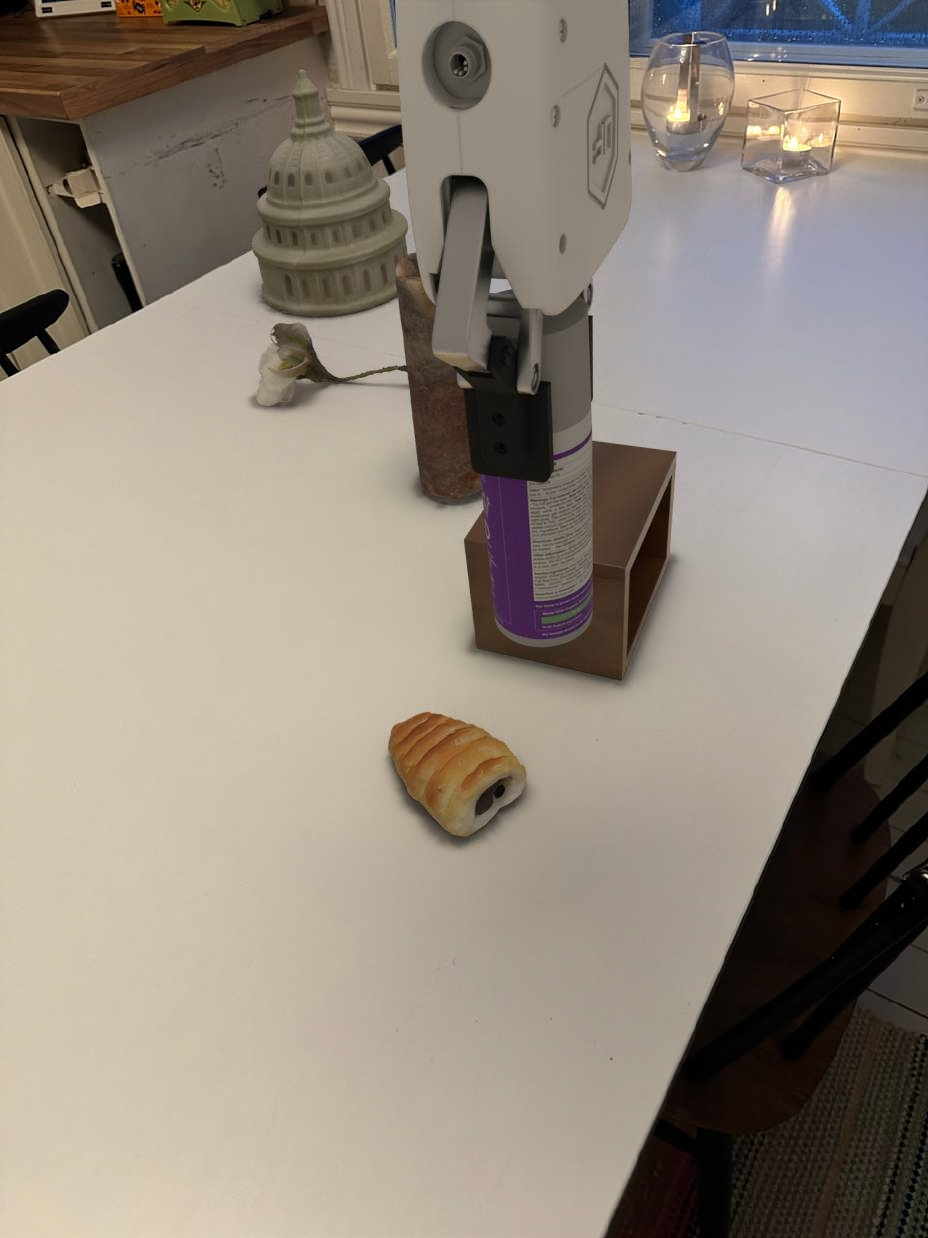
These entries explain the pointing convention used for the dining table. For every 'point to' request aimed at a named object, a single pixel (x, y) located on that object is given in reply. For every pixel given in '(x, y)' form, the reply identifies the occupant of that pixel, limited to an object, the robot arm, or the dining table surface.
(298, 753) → the dining table surface
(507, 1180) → the dining table surface
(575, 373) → the container
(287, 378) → the artificial flower
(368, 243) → the dome
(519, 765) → the pastry
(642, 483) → the shelf
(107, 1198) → the dining table surface
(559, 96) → the robot arm
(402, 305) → the brown rounded bar
